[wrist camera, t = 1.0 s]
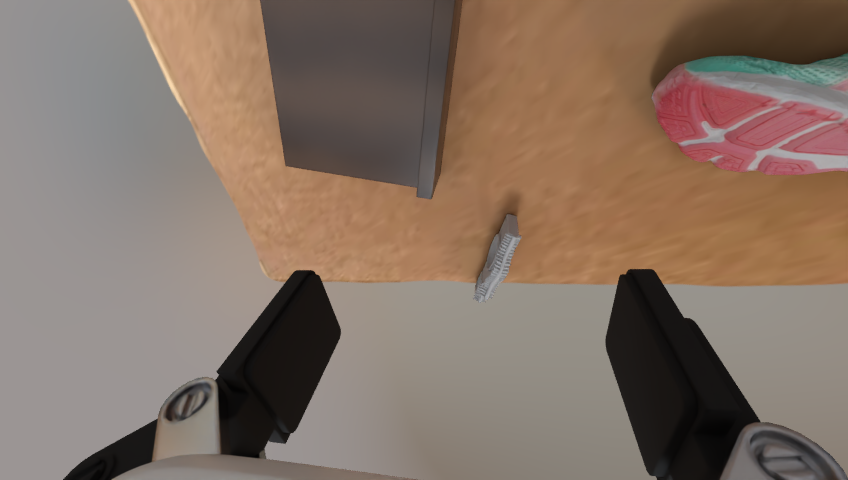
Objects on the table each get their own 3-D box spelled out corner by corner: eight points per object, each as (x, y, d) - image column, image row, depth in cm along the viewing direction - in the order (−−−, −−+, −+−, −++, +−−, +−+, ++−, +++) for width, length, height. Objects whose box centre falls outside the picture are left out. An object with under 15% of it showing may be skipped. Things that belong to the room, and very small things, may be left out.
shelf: (266, -159, 25) (209, -202, 20) (481, -144, 23) (477, -185, 18) (303, 153, 39) (275, 173, 34) (439, 175, 37) (431, 199, 32)
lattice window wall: (485, 288, 45) (485, 321, 40) (473, 284, 45) (470, 316, 40) (520, 213, 38) (523, 243, 33) (504, 209, 38) (506, 238, 33)
